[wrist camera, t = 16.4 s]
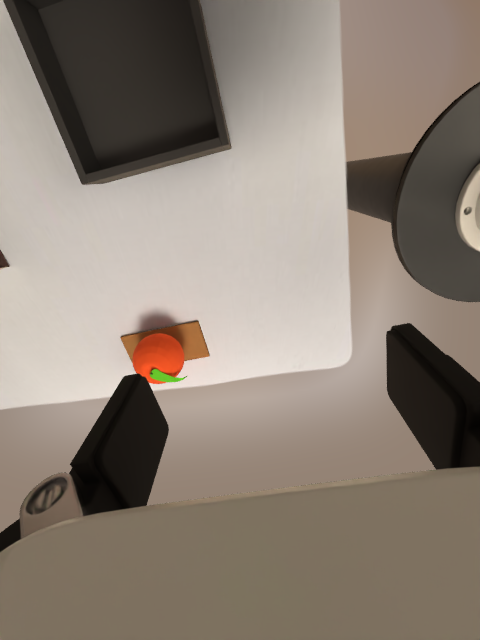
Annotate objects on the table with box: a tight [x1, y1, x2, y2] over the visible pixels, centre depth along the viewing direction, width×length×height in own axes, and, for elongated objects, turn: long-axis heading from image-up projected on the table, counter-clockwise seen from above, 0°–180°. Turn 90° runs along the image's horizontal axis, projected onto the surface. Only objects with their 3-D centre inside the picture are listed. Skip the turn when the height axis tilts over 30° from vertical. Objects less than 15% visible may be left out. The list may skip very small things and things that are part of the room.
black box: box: [3, 0, 231, 185], centre depth 28 cm, size 16×16×5 cm
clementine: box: [133, 333, 187, 384], centre depth 40 cm, size 8×7×7 cm
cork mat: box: [121, 321, 209, 363], centre depth 44 cm, size 12×6×1 cm, turn 103°
